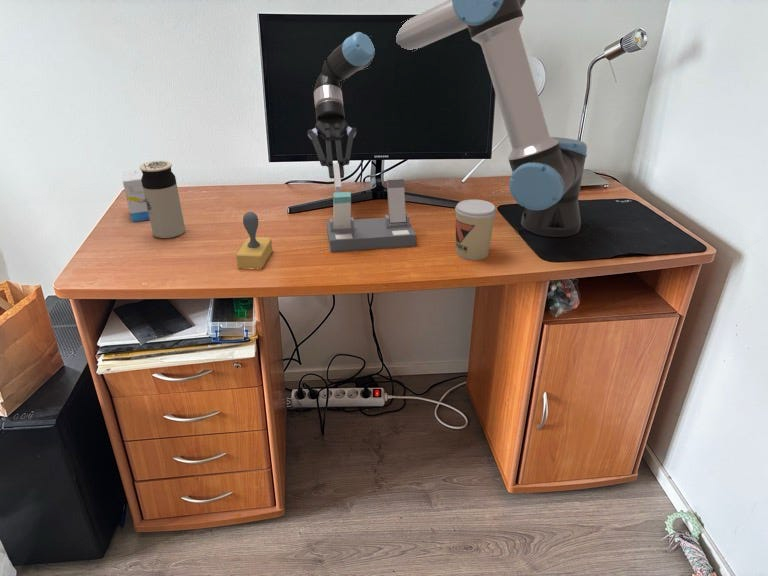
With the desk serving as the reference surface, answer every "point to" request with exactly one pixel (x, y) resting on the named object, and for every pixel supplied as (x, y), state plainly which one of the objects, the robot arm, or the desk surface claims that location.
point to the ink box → (135, 195)
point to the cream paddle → (342, 209)
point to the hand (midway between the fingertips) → (338, 188)
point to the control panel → (370, 234)
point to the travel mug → (162, 199)
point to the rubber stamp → (253, 245)
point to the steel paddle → (396, 201)
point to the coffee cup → (474, 228)
